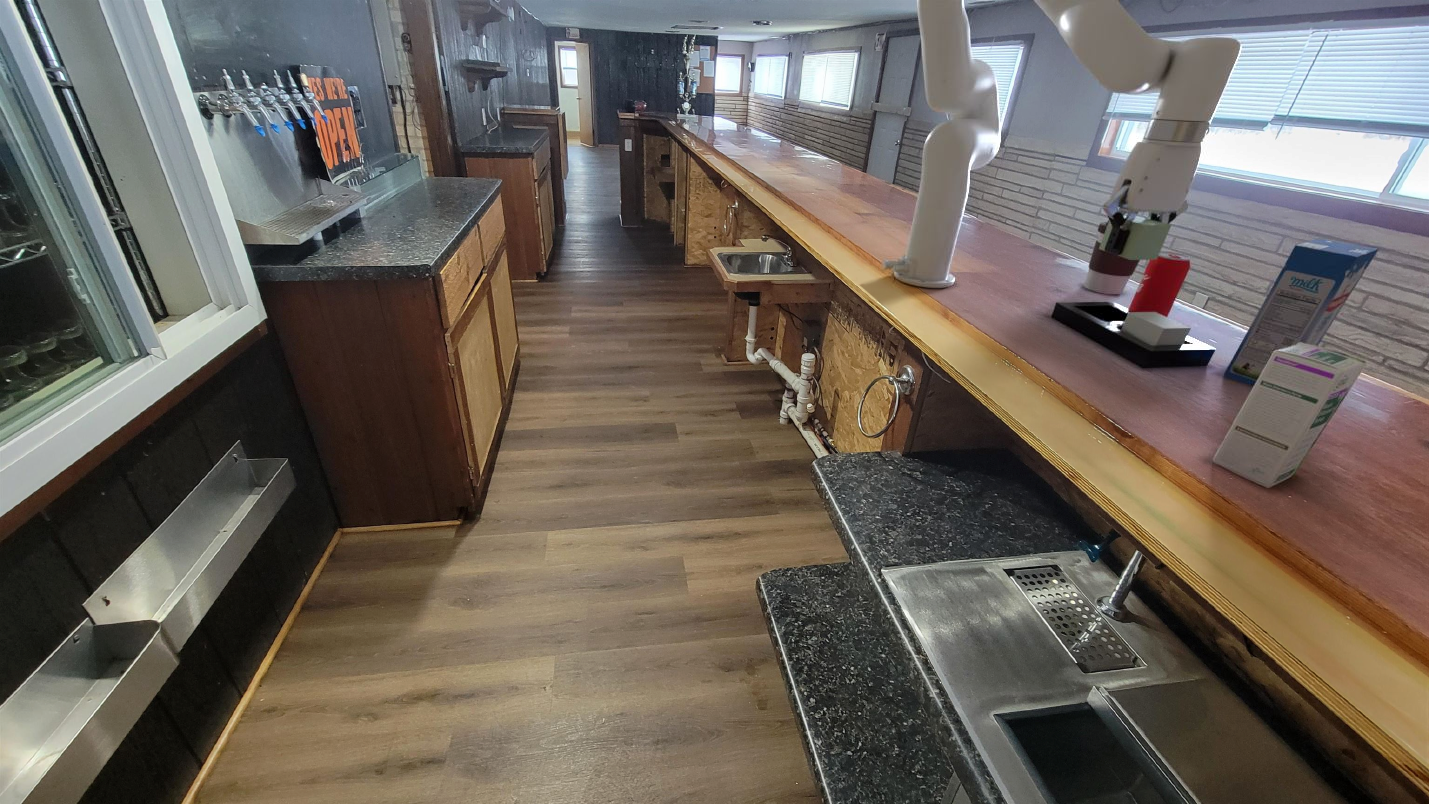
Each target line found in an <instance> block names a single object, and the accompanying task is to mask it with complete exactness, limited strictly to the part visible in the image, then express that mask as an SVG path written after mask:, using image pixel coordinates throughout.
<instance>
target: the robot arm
mask: <svg viewBox="0 0 1429 804" xmlns="http://www.w3.org/2000/svg"><path fill="white" fill-rule="evenodd" d="M977 1H979V2H989V1H992V0H977ZM1033 1H1034V3H1035V4H1036V5H1037V6H1038V7H1039V8H1040V10H1041V11H1042V12H1043V13H1044V14H1045V15H1046V16H1047V18H1048V19H1049V20H1050V21H1051V23H1053V24H1054V26H1055V27H1056V28H1057V30H1058V32H1059V34H1060V36H1061V37H1062V39H1063V40H1064V42H1065V43H1066V45H1067V46H1068V48H1069V50H1070V51H1071V52H1072V54H1073V56H1075V58H1076V59H1077V60H1078V61H1079V63H1080V64H1081V65H1082V66H1083V67H1084V68H1085V69H1086V70H1087V71H1088V73H1089V74H1090V75H1091V76H1092V77H1093V78H1094V79H1095V80H1096V81H1097V83H1099V85H1101V86H1102V87H1103V88H1104V89H1105V90H1108V91H1109V92H1111V93H1114V94H1125V95H1135V96H1136V95H1137V96H1139V95H1150V94H1158V97H1157V99H1156V103H1155V105H1154V108H1153V111H1152V114H1151V116H1150V119H1149V121H1148V124H1147V127H1146V130H1145V132H1144V135H1143V137H1142V140H1141V141H1137V142H1136V143H1135V145H1134V147H1133V148H1132V150H1131V151H1130V153H1129V155H1128V156H1127V159H1126V160H1125V162H1124V164H1123V166H1122V168H1121V171H1120V172H1119V175H1118V177H1117V179H1116V181H1115V184H1114V186H1113V189H1112V192H1111V194H1110V196H1109V199H1107V201H1105V203H1104V204H1103V205H1102V209H1103V211H1104V212H1105V214H1106V215H1107V218H1108V220H1110V226H1111V227H1112V230H1111V232H1110V235H1109V238H1108V240H1107V243H1106V246H1105V249H1104V250H1105V251H1107V252H1110V253H1112V254H1115V255H1121V253H1122V251H1123V249H1124V246H1125V244H1126V241H1127V239H1128V236H1129V234H1130V231H1129V230H1127V229H1128V228H1129V226H1130V225H1131V223H1132V222H1133V220H1134V219H1135V217H1136V216H1138V214H1139V213H1148V217H1147V219H1150V220H1154V221H1158V222H1162V223H1166V224H1169V225H1170V224H1171V222H1173V221H1175V219H1176V218H1177V217H1179V216H1180V215H1182V214H1183V213H1184V212H1186V211H1187V210H1188V208H1189V205H1188V201H1187V197H1188V194H1189V192H1190V190H1191V187H1192V184H1193V182H1194V179H1195V176H1196V173H1197V171H1198V167H1199V163H1200V159H1201V156H1202V151H1203V145H1202V144H1203V142H1204V139H1205V137H1206V136H1207V135H1208V134H1209V133H1210V125H1211V122H1212V120H1213V118H1214V116H1215V113H1216V111H1217V108H1218V106H1219V104H1220V101H1221V99H1222V97H1223V94H1224V92H1225V90H1226V87H1227V85H1228V83H1229V80H1230V78H1231V75H1232V73H1233V71H1234V68H1235V66H1236V64H1237V61H1238V59H1239V57H1240V54H1241V51H1242V43H1241V42H1240V40H1239V39H1236V38H1234V37H1233V38H1232V37H1219V36H1218V37H1217V36H1215V37H1214V36H1212V37H1209V36H1208V37H1195V38H1194V37H1193V38H1190V39H1187V40H1184V41H1174V40H1167V39H1162V38H1159V37H1156V36H1154V35H1153V36H1152V35H1150V34H1149V33H1148V32H1147V31H1146V30H1145V29H1144V28H1143V27H1142V26H1141V25H1140V24H1139V23H1138V22H1137V21H1136V20H1135V19H1134V18H1133V16H1131V14H1130V13H1129V12H1128V11H1127V9H1125V7H1124V6H1123V5H1122V4H1121V2H1120V1H1119V0H1033ZM916 11H917V12H916V13H917V20H918V28H919V34H920V35H919V36H920V45H921V59H922V72H923V80H924V94H925V99H926V103H927V105H928V107H929V108H930V109H931V110H932V111H934V112H936V113H940V114H950V119H948V120H945V121H943V122H941V123H939V124H937V125H936V126H935V127H933V129H932V130H930V133H929V134H928V135H927V137H926V139H925V142H924V144H923V149H922V158H921V159H922V160H921V175H920V182H919V189H918V193H917V199H916V204H915V208H914V213H913V217H912V223H911V227H910V232H909V237H908V241H907V246H906V251H905V254H902V255H900V257H899V258H898V259H896V260H883V261H882V263H881V268H882V270H885V271H886V270H892V272H894V274H893V276H894V278H895V279H896V280H897V281H900V282H902V283H903V284H904V283H905V284H907V285H911V286H915V287H920V288H921V287H922V288H931V289H942V288H948V287H951V286H953V285H954V284H955V279H956V277H954V275H952V274H951V273H950V270H951V269H950V268H951V264H952V261H953V255H954V253H955V248H956V244H957V241H958V236H959V233H960V229H961V225H962V221H963V217H964V214H965V210H966V205H967V201H968V196H969V190H970V174H971V173H970V172H971V171H973V170H977V169H980V168H983V167H984V166H986V165H988V164H989V163H990V162H991V161H992V160H993V159H994V158H995V157H996V155H997V154H998V151H999V148H1000V145H1001V135H1002V134H1001V121H1000V120H1001V119H1000V118H1001V117H1000V103H999V88H998V81H997V76H996V74H995V71H994V70H993V68H992V67H991V66H990V65H989V63H987V62H986V61H984V60H981V59H977V58H974V57H973V51H972V44H971V28H970V27H971V26H970V21H969V17H968V15H967V12H966V8H965V2H964V0H916ZM1123 216H1126V217H1125V219H1124V217H1123Z"/></svg>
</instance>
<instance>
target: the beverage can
mask: <svg viewBox="0 0 1429 804" xmlns="http://www.w3.org/2000/svg"><path fill="white" fill-rule="evenodd" d="M1190 269H1191V257H1190V256H1189V255H1186V254H1184V253H1178V252H1174V251H1173V252H1172V251H1162V250H1161V251H1160V253H1159V256H1158V258H1157V260H1148V263H1147V265H1146V267H1145V270H1144V272H1143V275H1142V277H1141V279H1140V281H1139V284H1138V285H1137V289H1136V290H1135V293H1134V295H1133V298H1132V300H1131V303H1130V305H1129V307H1128V309H1129V310H1132V311H1134V312H1156V313H1158V314H1161V315H1163V316H1165V317H1167V318H1168V316H1169V314H1170V312H1171V310H1172V308H1173V306H1174V304H1175V301H1176V299H1177V297H1178V295H1179V293H1180V291H1181V288H1182V286H1183V284H1184V282H1185V280H1186V277H1187V276H1188V273H1189V271H1190Z"/></svg>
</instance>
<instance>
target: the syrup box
mask: <svg viewBox="0 0 1429 804" xmlns="http://www.w3.org/2000/svg"><path fill="white" fill-rule="evenodd" d="M1366 366H1367V361H1366V360H1363V359H1361V358H1359V357H1355V356H1352V355H1350V354H1348V353H1344V352H1341V351H1337V350H1334V349H1332V348H1331V349H1330V348H1328V347H1323V346H1319V345H1318V346H1315V345H1310V344H1305V343H1302V342H1299V343H1297V344H1295V345H1293V346H1288V347H1285V348H1282V349H1279V350H1276V351H1273V353H1272V355H1271V357H1270V359H1269V360H1268V362H1267V364H1266V366H1265V368H1264V369H1263V371H1262V373H1261V375H1260V376H1259V378H1258V380H1257V382H1256V383H1255V385H1254V386H1252V388H1251V390H1250V392H1249V394H1248V395H1247V398H1246V399H1245V401H1244V402H1243V404H1242V407H1241V408H1240V410H1239V411H1238V413H1237V415H1236V417H1235V418H1234V420H1233V422H1232V424H1231V426H1230V427H1229V430H1228V431H1227V433H1226V434H1225V436H1224V438H1223V439H1222V442H1221V444H1220V445H1219V447H1218V449H1217V450H1216V452H1215V454H1214V456H1213V458H1212V462H1213V463H1215V464H1216V465H1218V466H1219V467H1222V468H1224V469H1225V470H1228V471H1230V472H1232V473H1233V474H1236V475H1238V476H1240V477H1242V478H1244V479H1247V480H1249V481H1251V482H1253V483H1255V484H1258V485H1260V486H1262V487H1264V488H1266V489H1270V488H1272V487H1273V486H1276V485H1279V484H1280V483H1282V482H1285V481H1286V480H1287V479H1289V478H1291V477H1293V476H1294V475H1296V472H1297V471H1298V469H1299V468H1300V466H1301V465H1302V464H1303V462H1304V460H1305V459H1306V457H1307V456H1308V454H1309V453H1310V451H1311V450H1312V448H1313V447H1314V445H1315V444H1316V442H1317V441H1318V439H1319V438H1320V436H1321V435H1322V434H1323V431H1324V430H1325V428H1326V427H1327V425H1328V424H1329V423H1330V421H1331V419H1332V418H1333V416H1334V415H1335V414H1336V412H1337V411H1338V409H1339V407H1340V406H1341V404H1342V403H1343V401H1344V400H1345V398H1346V397H1347V395H1348V393H1349V392H1350V390H1351V389H1352V388H1353V386H1354V384H1355V382H1356V381H1357V379H1358V378H1359V377H1360V375H1361V374H1362V372H1363V370H1364V369H1365V367H1366Z"/></svg>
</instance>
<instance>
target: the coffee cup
mask: <svg viewBox="0 0 1429 804" xmlns="http://www.w3.org/2000/svg"><path fill="white" fill-rule="evenodd" d="M1108 223H1109V219H1108V220H1107V221H1103V222H1102V221H1101V222H1100V223H1099V225H1098V227H1097V232H1098V233H1099V234H1098V238H1097V240H1096V241H1095V244H1094V247H1093V250H1092V254H1091V257H1090V260H1089V264H1088V271H1087V274H1086V277H1085V280H1084V285H1083V286H1084V288H1086V289H1087V290H1089V291H1091V292H1095V293H1099V294H1104V295H1120V294H1122V293H1123V292H1124V290H1125V288H1126V286H1127V284H1128V283H1129V279H1130V278H1131V277H1132V275H1134V273H1135V271H1136V269H1137V267H1138V265H1139V263H1140V261H1141V260H1129V259H1126V258H1123V257H1121V256H1118V255H1115V254H1112V253H1109V252H1106V251H1103V250H1101V249H1099V247H1100V245H1101V242H1102V239H1103V237H1104V234H1105V231H1106V228H1107V226H1108Z"/></svg>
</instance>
